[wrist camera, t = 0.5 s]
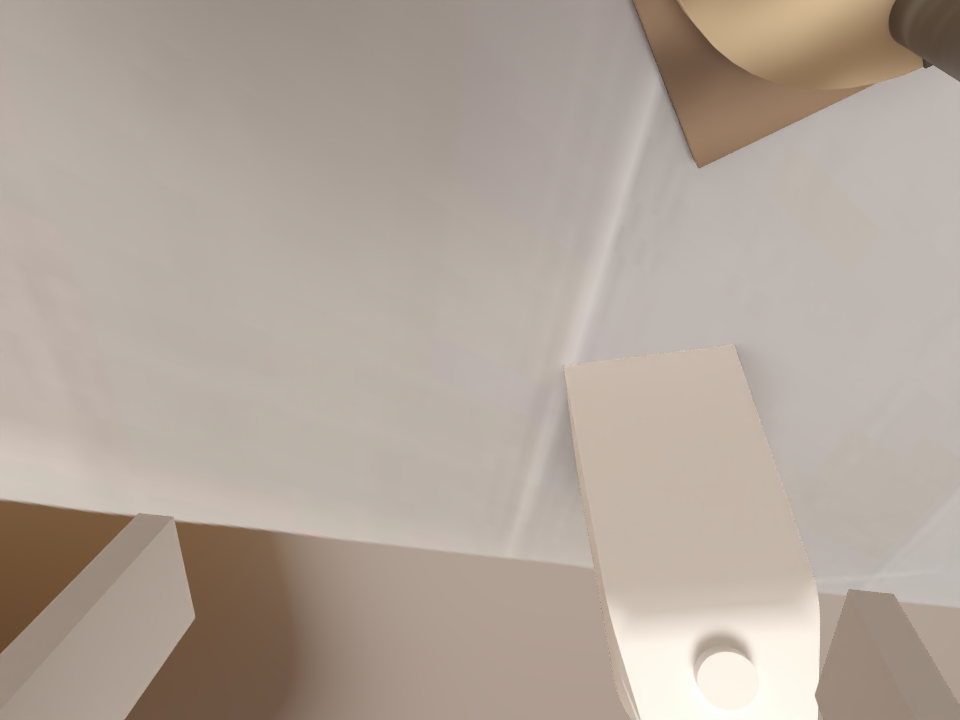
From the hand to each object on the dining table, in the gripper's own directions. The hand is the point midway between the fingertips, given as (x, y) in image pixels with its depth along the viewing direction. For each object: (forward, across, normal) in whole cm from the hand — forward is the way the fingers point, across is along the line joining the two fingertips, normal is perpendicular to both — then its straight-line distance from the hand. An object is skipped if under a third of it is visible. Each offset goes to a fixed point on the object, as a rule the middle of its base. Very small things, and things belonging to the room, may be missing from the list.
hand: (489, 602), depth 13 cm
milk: (+36, +8, -14) cm, 40 cm away
